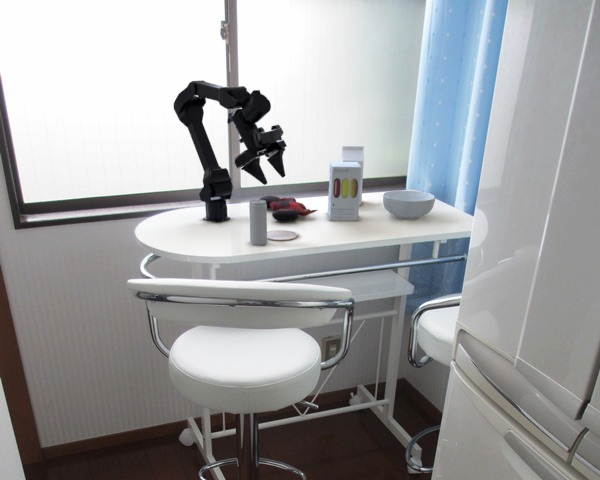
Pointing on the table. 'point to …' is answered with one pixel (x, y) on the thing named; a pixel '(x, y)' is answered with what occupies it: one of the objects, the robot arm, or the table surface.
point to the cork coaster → (281, 235)
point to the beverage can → (258, 222)
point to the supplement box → (344, 191)
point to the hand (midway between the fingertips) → (275, 180)
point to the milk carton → (354, 160)
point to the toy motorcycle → (286, 208)
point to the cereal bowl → (408, 203)
